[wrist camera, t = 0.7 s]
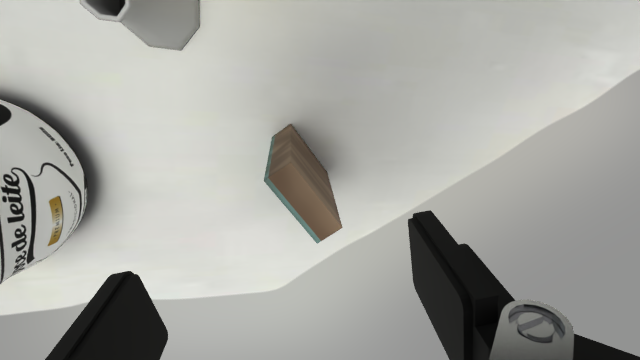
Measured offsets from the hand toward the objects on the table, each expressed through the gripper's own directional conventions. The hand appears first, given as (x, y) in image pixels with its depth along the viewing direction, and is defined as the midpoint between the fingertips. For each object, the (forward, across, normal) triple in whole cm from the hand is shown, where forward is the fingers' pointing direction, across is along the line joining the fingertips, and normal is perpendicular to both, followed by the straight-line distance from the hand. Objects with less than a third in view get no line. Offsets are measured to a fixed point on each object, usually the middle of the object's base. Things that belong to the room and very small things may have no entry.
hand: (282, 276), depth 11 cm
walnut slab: (+26, 0, +5) cm, 26 cm away
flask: (+26, +9, -12) cm, 30 cm away
